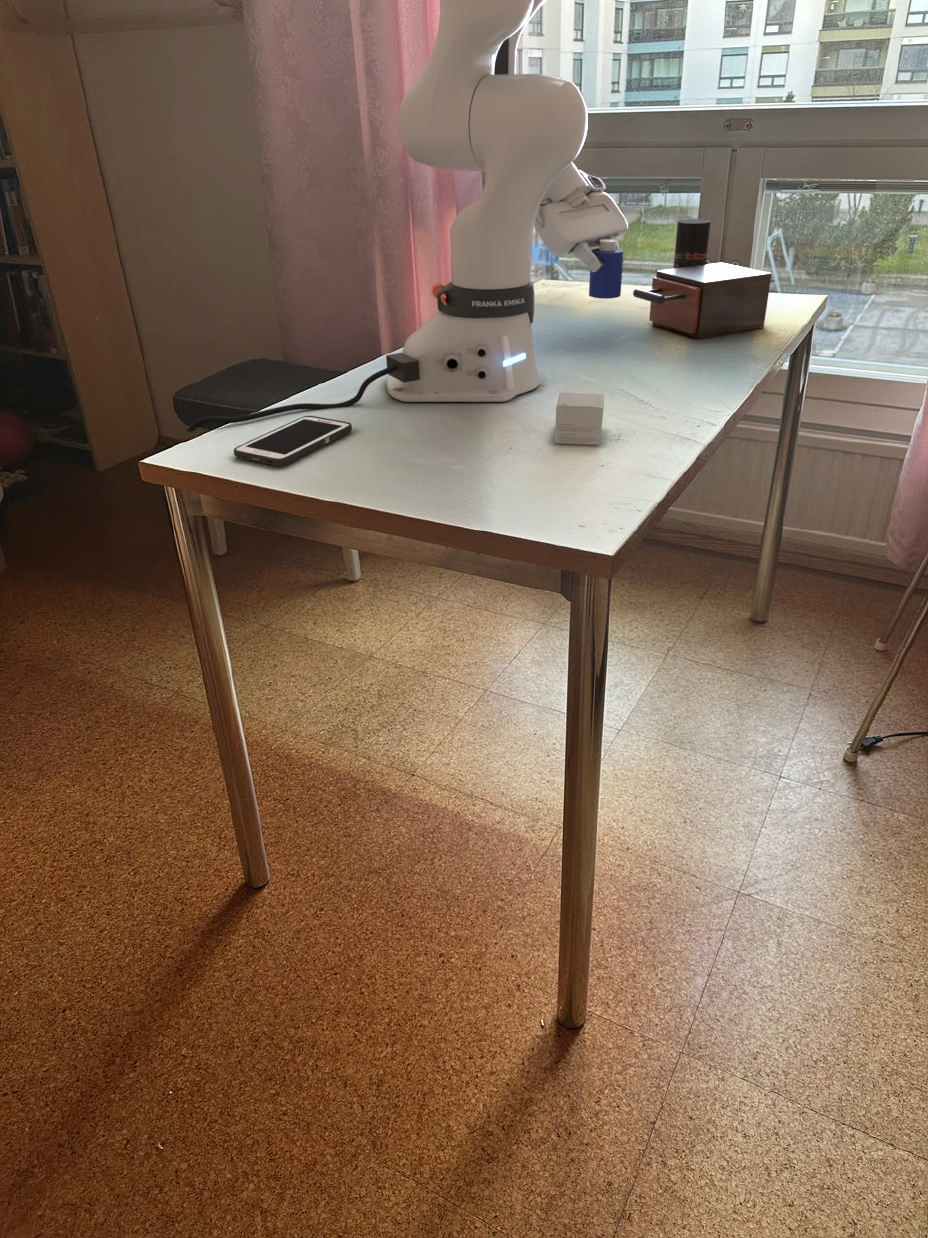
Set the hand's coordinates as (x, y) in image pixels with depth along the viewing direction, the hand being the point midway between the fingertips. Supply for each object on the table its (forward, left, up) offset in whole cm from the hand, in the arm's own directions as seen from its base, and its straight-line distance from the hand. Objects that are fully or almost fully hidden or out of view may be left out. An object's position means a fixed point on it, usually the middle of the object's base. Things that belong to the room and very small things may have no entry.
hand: (609, 266), depth 148 cm
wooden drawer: (+16, +4, -11) cm, 20 cm away
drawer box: (+20, +6, -12) cm, 24 cm away
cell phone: (-51, -42, -12) cm, 67 cm away
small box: (-16, -46, -12) cm, 50 cm away
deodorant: (+22, +23, -12) cm, 34 cm away
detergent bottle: (-1, 0, -5) cm, 5 cm away
